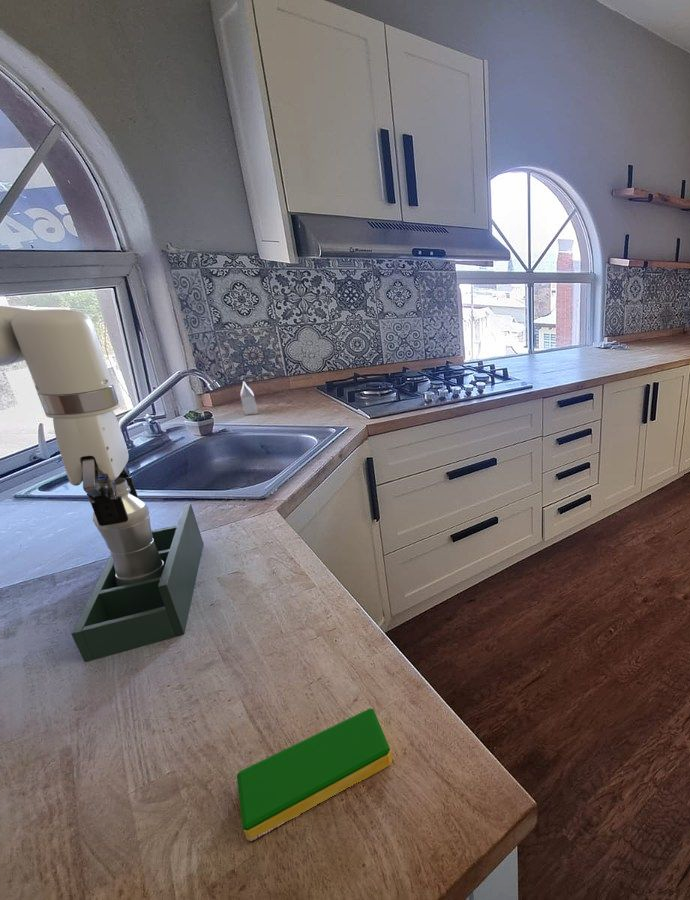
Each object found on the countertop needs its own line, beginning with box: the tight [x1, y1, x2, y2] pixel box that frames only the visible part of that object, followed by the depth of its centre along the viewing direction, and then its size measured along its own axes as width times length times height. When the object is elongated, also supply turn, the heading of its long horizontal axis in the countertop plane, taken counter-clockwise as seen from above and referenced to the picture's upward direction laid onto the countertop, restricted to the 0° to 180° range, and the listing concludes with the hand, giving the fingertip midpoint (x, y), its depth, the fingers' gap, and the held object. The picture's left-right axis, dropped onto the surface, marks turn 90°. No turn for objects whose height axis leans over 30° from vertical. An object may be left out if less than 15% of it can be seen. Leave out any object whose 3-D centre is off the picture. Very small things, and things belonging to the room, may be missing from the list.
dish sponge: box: [236, 707, 393, 839], centre depth 55 cm, size 7×14×2 cm, turn 128°
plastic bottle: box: [92, 478, 165, 587], centre depth 79 cm, size 6×7×20 cm
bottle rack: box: [71, 502, 204, 663], centre depth 81 cm, size 11×28×9 cm, turn 31°
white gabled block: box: [239, 380, 259, 416], centre depth 169 cm, size 4×7×10 cm, turn 35°
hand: (119, 511), depth 77 cm, fingers closed on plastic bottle, 6 cm apart
